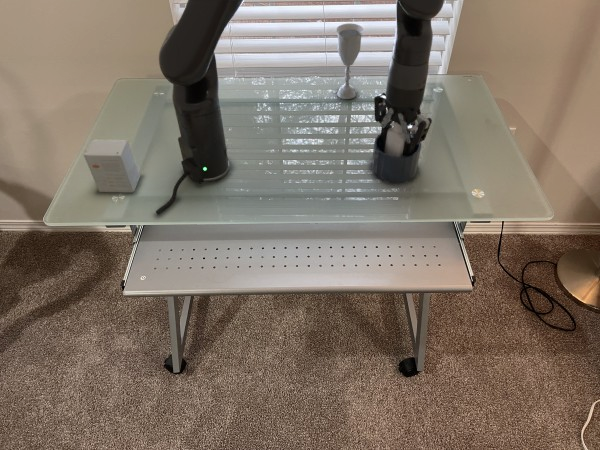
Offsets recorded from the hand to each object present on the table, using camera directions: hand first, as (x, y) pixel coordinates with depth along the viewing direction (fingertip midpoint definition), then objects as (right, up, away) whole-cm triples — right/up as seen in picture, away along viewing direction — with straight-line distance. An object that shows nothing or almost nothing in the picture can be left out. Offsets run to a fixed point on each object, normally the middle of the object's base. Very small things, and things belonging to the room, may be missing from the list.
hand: (396, 147), depth 111 cm
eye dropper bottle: (0, -3, +3) cm, 4 cm away
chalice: (-9, +19, +27) cm, 34 cm away
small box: (-62, -8, +2) cm, 62 cm away
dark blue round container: (0, -4, +4) cm, 6 cm away
